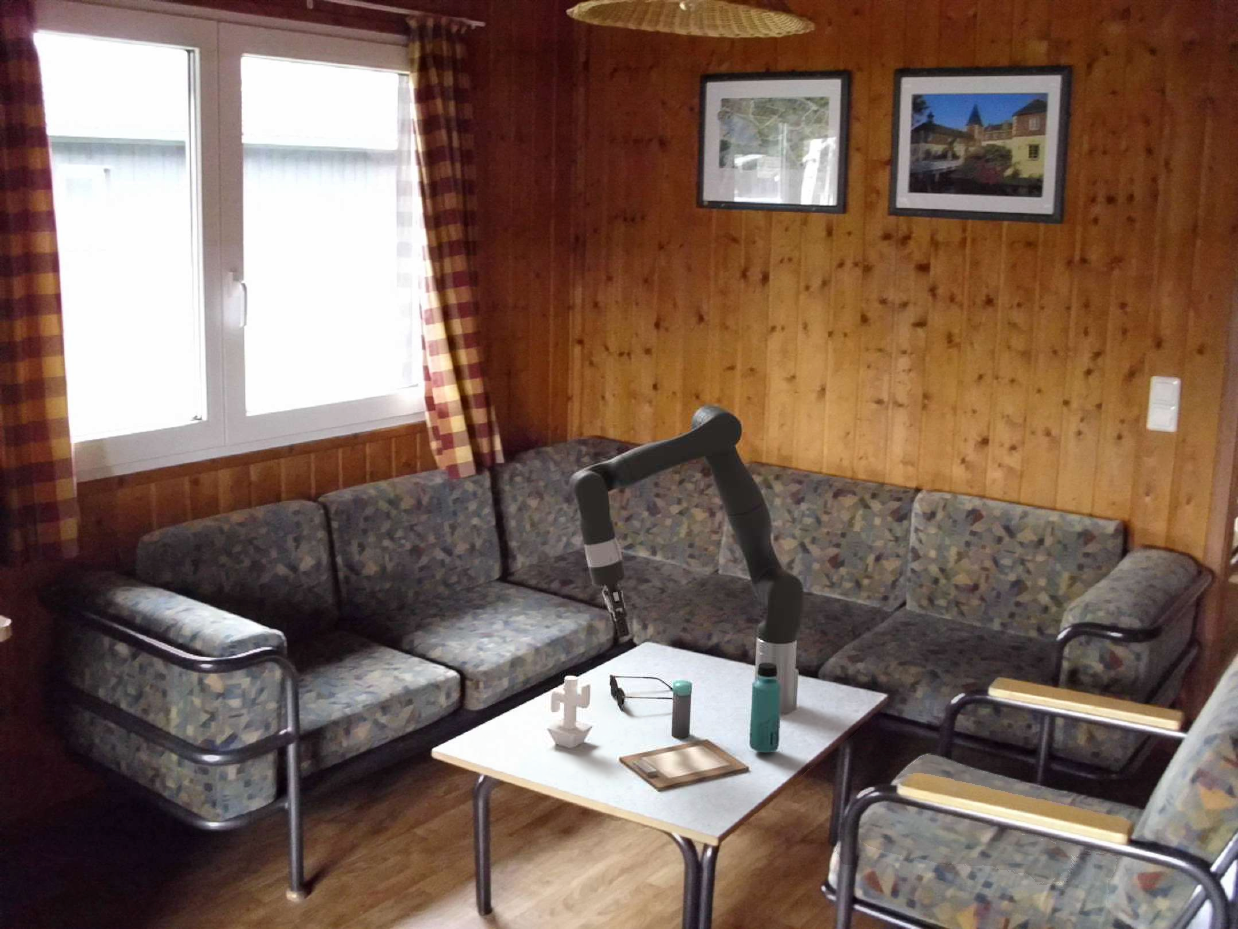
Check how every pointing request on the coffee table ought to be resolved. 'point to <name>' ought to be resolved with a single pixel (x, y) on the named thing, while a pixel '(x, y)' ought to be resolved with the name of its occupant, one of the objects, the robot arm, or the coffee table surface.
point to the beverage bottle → (765, 710)
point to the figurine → (570, 713)
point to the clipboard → (683, 764)
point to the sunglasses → (621, 695)
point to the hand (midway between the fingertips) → (621, 631)
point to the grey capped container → (681, 709)
